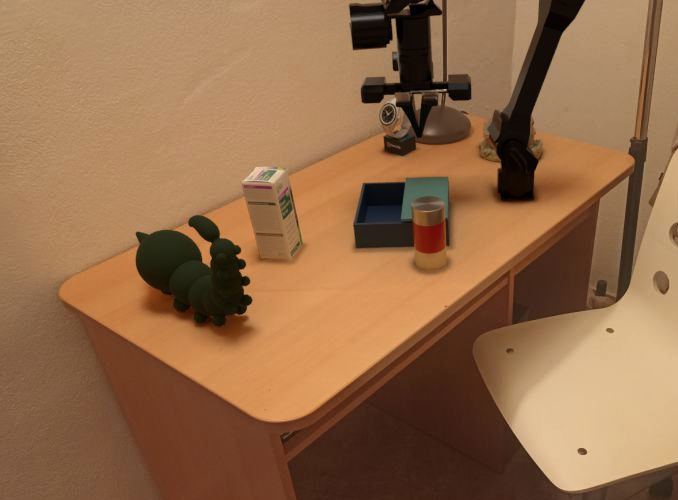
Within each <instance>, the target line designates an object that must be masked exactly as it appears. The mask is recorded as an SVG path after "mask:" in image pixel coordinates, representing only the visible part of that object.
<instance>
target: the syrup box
mask: <svg viewBox="0 0 678 500" xmlns="http://www.w3.org/2000/svg"><path fill="white" fill-rule="evenodd" d="M240 184H241V188H242V192H243V195H244V199H245V203H246V207H247V211H248V216H249V219H250V223H251V227H252V230H253V234H254V238H255V242H256V247H257V250H258V253H259V257H260V259H261V260H264V259H274V260H275V259H277V260H287V261H291V260H292V259H293V257H294V256H295V255H296V254H297V253H298V251H299V250H300V248H301V247H302V246H303V244H304V242H303V238H302V232H301V228H300V224H299V218H298V213H297V209H296V203H295V200H294V199H295V198H294V194H293V189H292V185H291V180H290V175H289V170H288V168H286V167H279V166H255V167H254V170H253V171H251V172H250V173H249V174H248V175H247V176H246V177H245V178H244V179H243V180H242V181H240Z"/></svg>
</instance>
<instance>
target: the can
mask: <svg viewBox="0 0 678 500" xmlns="http://www.w3.org/2000/svg"><path fill="white" fill-rule="evenodd" d="M411 208H412V224H413V238H414V247H413V248H414V249H413V250H414V262H415V265H416V267H418V268H419V269H421V270H425V271H435V270H438V269H439V270H440V269H441V268H443V267H445V266H446V264H447V261H448V260H447V259H448V257H447V246H446V226H445V203H444V201H443V200H442V199H441V198H438V197H434V196H425V197H420V198H417V199H415V200H414V201H413V202H412V204H411Z"/></svg>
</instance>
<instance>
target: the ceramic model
mask: <svg viewBox="0 0 678 500" xmlns="http://www.w3.org/2000/svg"><path fill="white" fill-rule="evenodd" d="M504 109H505V108H504ZM504 109H503V108H499V109H496V110H498V111H500V112H502V111H503V110H504ZM493 114H494V111H493V112H492V113H491V114H490V116H488V117H487V118H486V119H485V120H484V122H483V127H482V137H483V141H481V142H480V143H479V145H478V146H479V148H480V149H479V154H480V156H481V157H482V158H483V159H485V160H487V161H491V162H495V163H501V160H500V159H499V158H498V156H497V154H496V152H495V150H494V148H493V147H492V145H491V143H490V140H489V134H490V133H489V132H488V130H487V128H488V127H489V126H490V124H491V122H492V119H493ZM534 125H535V120H534V118H533V115H531V129H530V138H529V143H528V145H529V146H530V148H531V149H532V151H533V152H534V154H535V155H536V157H537V159H538V160H539V158H540V157H541V155H542V152H543V145H544V144H543V141H542V139H540V138H539V139H538V138H537V139H535V136H536V135H537V130H536V128H535V127H534Z"/></svg>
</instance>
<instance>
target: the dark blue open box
mask: <svg viewBox="0 0 678 500" xmlns="http://www.w3.org/2000/svg"><path fill="white" fill-rule="evenodd" d="M404 189H405V181H385V182H384V181H383V182H382V181H381V182H362V184H361V190H360V194H359V198H358V202H357V206H356V212H355V215H354V220H353V224H352V227H353V233H354V240H355V241H354V242H355V248H356V249H375V248H376V249H379V248H380V249H381V248H414V238H413V224H412V221H401V214H402V206H403V198H404ZM445 226H446V247H450V180H448V220H445Z"/></svg>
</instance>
